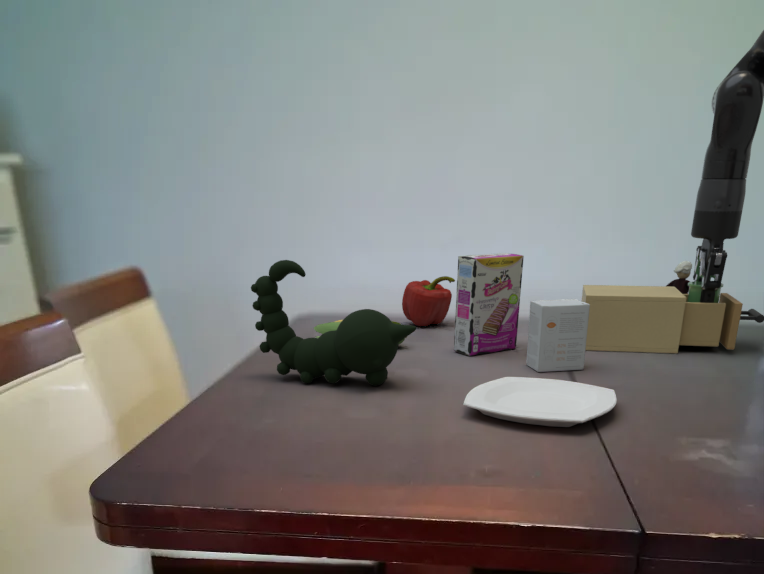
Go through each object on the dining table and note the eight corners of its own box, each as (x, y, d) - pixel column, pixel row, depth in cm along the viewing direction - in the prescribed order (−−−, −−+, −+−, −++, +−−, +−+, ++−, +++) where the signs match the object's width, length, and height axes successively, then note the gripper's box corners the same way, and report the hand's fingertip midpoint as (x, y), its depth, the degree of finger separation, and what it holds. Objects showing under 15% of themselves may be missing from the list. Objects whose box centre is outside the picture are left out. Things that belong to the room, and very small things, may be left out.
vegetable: (456, 321, 160) (458, 273, 156) (449, 330, 151) (451, 279, 147) (407, 319, 163) (407, 272, 159) (397, 328, 154) (397, 278, 149)
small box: (570, 362, 125) (576, 298, 121) (584, 370, 120) (591, 303, 116) (524, 364, 124) (529, 299, 119) (537, 372, 119) (542, 305, 114)
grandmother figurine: (697, 325, 154) (707, 261, 149) (689, 327, 152) (699, 262, 146) (661, 320, 159) (670, 258, 154) (653, 323, 157) (662, 260, 151)
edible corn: (399, 351, 134) (399, 326, 132) (307, 341, 142) (305, 317, 141) (412, 346, 138) (412, 321, 136) (321, 336, 147) (320, 313, 145)
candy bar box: (470, 357, 129) (474, 258, 122) (452, 352, 133) (455, 255, 126) (518, 349, 135) (525, 254, 128) (500, 344, 138) (505, 251, 132)
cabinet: (666, 338, 143) (674, 286, 139) (677, 353, 130) (686, 297, 126) (578, 335, 146) (583, 284, 142) (580, 350, 134) (586, 295, 130)
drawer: (746, 336, 139) (754, 293, 136) (763, 350, 128) (772, 304, 125) (634, 333, 143) (639, 291, 140) (641, 346, 132) (647, 301, 129)
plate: (592, 442, 88) (594, 426, 87) (444, 419, 97) (444, 404, 96) (629, 401, 103) (630, 388, 102) (498, 385, 112) (499, 372, 111)
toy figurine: (256, 394, 115) (411, 392, 106) (235, 265, 107) (400, 253, 99) (283, 379, 123) (428, 376, 114) (265, 259, 115) (419, 247, 107)
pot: (714, 312, 135) (719, 281, 133) (720, 317, 130) (726, 286, 128) (681, 311, 137) (685, 281, 134) (686, 317, 131) (691, 285, 129)
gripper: (752, 210, 119) (732, 317, 126) (733, 206, 132) (715, 304, 139) (702, 210, 120) (685, 316, 127) (688, 206, 133) (673, 303, 140)
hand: (701, 309), depth 133 cm, fingers closed on pot, 5 cm apart
